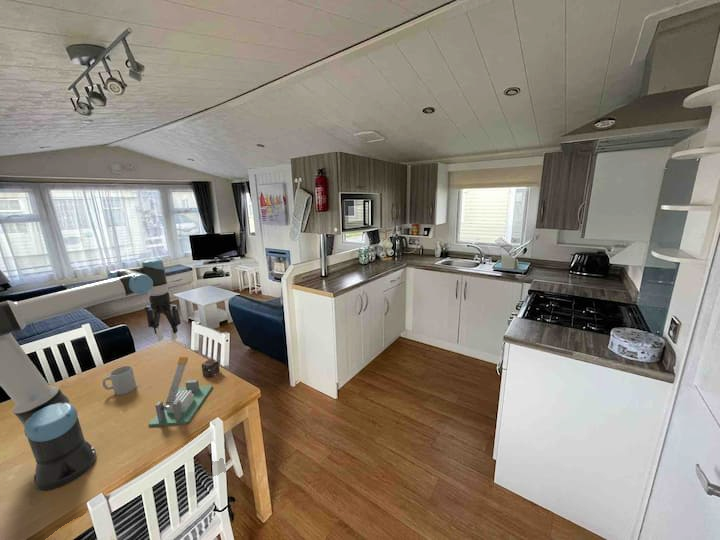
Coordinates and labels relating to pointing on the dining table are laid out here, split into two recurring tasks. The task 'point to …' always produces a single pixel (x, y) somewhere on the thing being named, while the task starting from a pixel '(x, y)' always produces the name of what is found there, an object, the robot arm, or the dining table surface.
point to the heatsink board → (182, 405)
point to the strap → (175, 383)
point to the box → (210, 368)
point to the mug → (121, 380)
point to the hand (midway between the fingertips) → (167, 339)
